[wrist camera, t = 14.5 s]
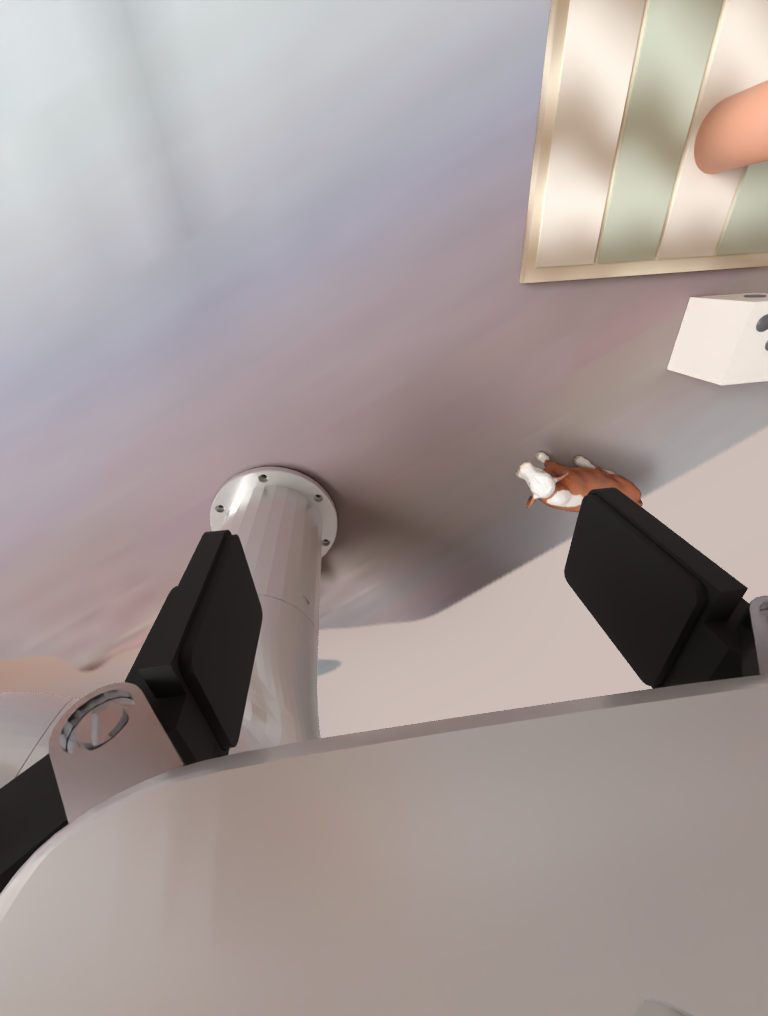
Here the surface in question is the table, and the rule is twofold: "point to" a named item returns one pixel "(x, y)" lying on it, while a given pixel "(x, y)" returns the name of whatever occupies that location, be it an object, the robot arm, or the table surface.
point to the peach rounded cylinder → (734, 132)
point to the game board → (643, 141)
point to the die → (724, 339)
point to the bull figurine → (570, 482)
